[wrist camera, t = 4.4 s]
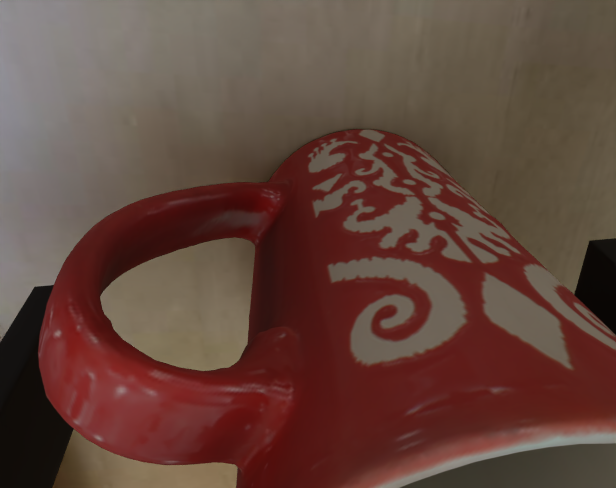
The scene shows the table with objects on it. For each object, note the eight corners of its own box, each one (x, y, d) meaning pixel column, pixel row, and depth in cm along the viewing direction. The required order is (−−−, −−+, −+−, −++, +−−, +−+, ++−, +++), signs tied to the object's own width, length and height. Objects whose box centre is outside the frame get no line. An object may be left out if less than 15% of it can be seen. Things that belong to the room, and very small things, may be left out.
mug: (526, 180, 19) (926, 549, 8) (380, 344, 23) (506, 763, 11) (221, -25, 15) (102, 112, 3) (102, 215, 19) (-155, 677, 7)
